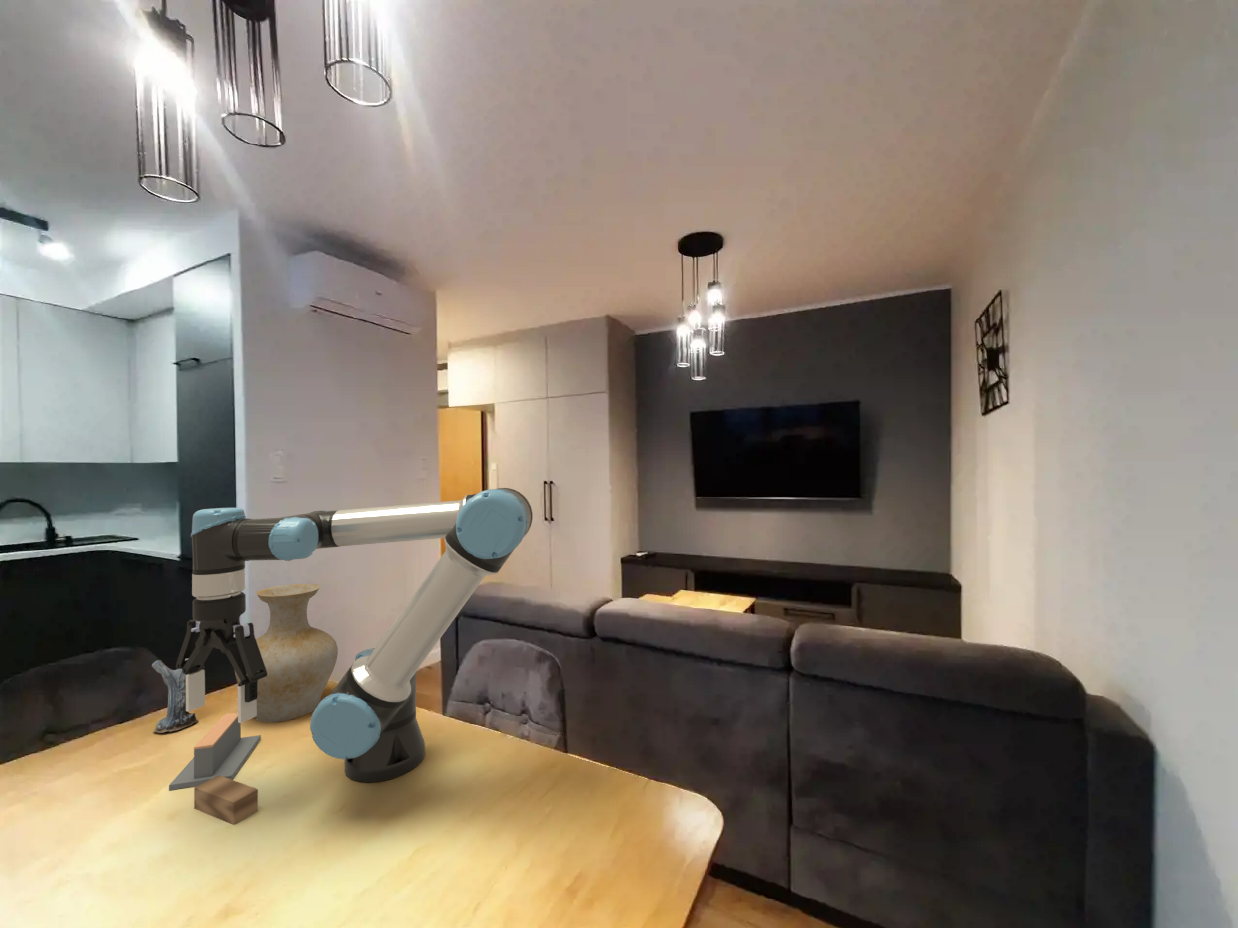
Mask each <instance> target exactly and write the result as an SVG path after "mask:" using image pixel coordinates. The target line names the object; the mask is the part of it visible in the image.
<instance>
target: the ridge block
mask: <svg viewBox="0 0 1238 928" xmlns="http://www.w3.org/2000/svg"><path fill="white" fill-rule="evenodd" d="M241 727H242V723H238V712H232V713H225V714H224V715H222V717H221V718H219V719H218V720H217V722H216V723H215V724H214V725H213V726H212V727H211V728H210V730H209V731H207V733H206V734H205V735H204V736H203V737H202V738H201V740H199V741H198V742H197V743H196V745H195V746H194V747H193V749H194V750H193V755H194V756H193V757H192V759H191V760H190V761H189V762H188V763H187V764H186V766H185V767H184V768H183V769H182V770H181V771H180V772H179V773H178V775H176V777H174V779H173V780H172V781H170V783H169V784H168V791H174V790H182V789H187V788H194V787H196V786H198V785H200V784H202V783H204V782H206V781H208V780H210V779H212V778H214V777H216V776H218V775H220V776H223V777H225V778H228V779H231V780H233V779H234V778H235V777H236V775H237V774H238V772H240V770H241V768H242V767H243V766H244V764H245V762H246V761H247V760H248V758H249V757H250V755H252V753H253V751H254V750H255V749H256V747H257V745H258V744H259V743H260V741H261V739H262V735H261V734H258V735H252V736H243V737H242V735H241V731H242V728H241Z"/></svg>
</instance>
